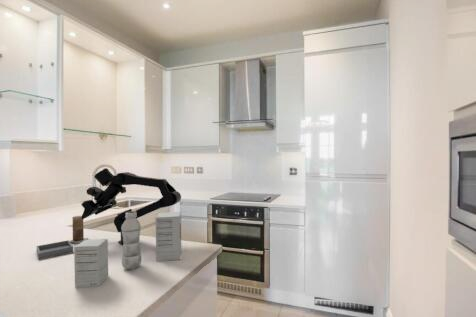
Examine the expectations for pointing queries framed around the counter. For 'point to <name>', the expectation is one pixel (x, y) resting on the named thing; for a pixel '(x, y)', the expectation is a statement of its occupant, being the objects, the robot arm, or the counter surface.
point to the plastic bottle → (131, 241)
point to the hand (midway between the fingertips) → (88, 216)
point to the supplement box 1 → (91, 262)
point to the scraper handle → (78, 230)
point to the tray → (54, 249)
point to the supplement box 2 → (168, 236)
